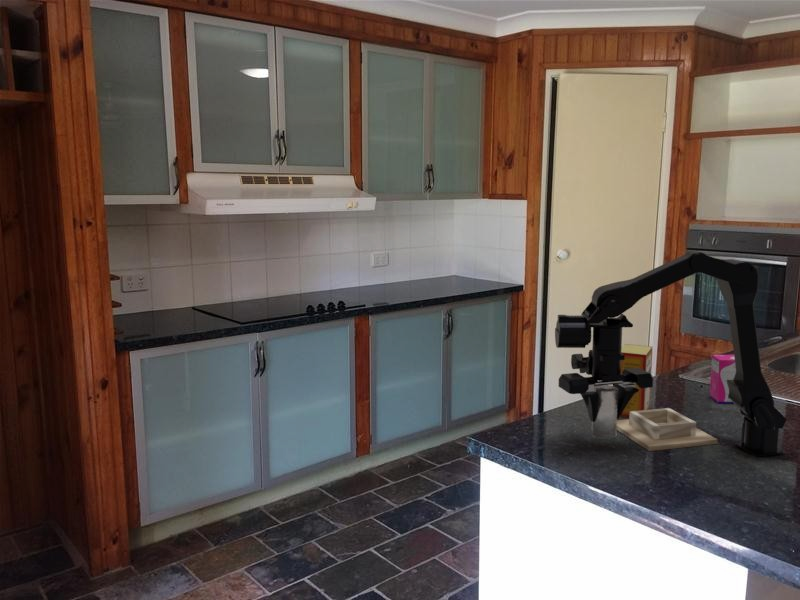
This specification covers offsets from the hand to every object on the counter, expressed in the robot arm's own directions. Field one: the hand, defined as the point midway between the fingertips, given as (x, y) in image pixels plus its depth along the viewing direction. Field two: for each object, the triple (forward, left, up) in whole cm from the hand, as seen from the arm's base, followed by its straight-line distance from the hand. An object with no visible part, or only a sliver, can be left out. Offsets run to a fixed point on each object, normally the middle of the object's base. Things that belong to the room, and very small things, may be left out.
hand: (604, 420), depth 139 cm
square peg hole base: (+4, -16, -6) cm, 18 cm away
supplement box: (+21, -45, -6) cm, 50 cm away
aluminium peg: (0, 0, -3) cm, 3 cm away
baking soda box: (+19, -18, -6) cm, 27 cm away
